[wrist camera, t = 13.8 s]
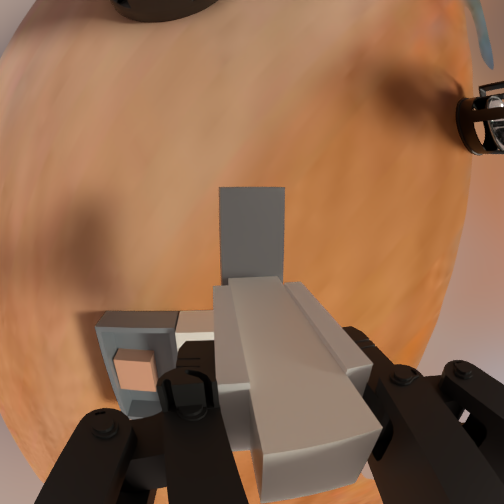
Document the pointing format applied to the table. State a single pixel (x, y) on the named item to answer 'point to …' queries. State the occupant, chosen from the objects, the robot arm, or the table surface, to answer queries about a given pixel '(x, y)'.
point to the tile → (136, 369)
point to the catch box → (140, 338)
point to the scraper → (287, 362)
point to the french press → (487, 110)
